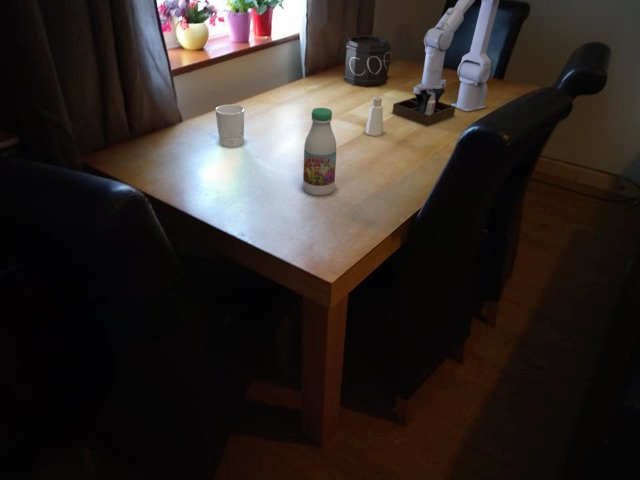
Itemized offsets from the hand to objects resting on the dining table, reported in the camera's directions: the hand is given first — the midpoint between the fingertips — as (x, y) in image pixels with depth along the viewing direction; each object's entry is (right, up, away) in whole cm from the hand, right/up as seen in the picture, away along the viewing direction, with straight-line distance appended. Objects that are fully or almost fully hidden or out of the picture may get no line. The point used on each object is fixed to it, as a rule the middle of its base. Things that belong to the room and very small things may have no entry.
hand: (426, 111), depth 166 cm
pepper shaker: (-18, -9, -9) cm, 22 cm away
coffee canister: (-16, +21, +36) cm, 45 cm away
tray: (0, 0, +6) cm, 6 cm away
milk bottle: (-35, -30, -41) cm, 62 cm away
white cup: (-61, -14, -20) cm, 65 cm away
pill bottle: (0, -2, +2) cm, 3 cm away
